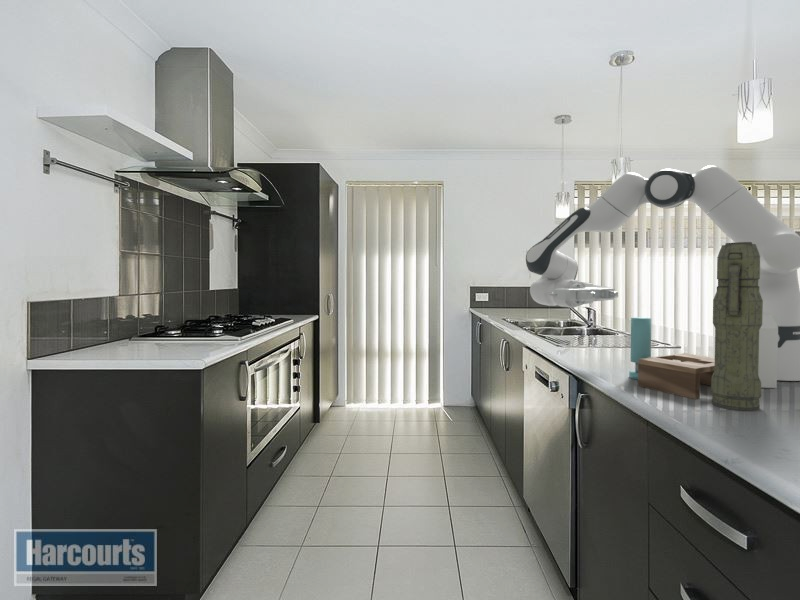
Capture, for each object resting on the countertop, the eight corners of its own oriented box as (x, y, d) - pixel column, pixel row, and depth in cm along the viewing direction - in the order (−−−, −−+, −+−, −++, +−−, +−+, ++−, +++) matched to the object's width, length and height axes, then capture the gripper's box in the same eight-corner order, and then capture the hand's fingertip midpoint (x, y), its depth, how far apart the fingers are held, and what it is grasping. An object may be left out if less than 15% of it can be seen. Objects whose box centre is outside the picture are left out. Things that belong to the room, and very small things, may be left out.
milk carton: (776, 388, 121) (778, 311, 120) (744, 387, 123) (746, 311, 122) (761, 382, 128) (763, 309, 127) (731, 381, 130) (732, 309, 129)
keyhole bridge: (684, 378, 134) (684, 353, 134) (742, 390, 120) (743, 361, 120) (638, 386, 126) (638, 358, 126) (695, 399, 113) (695, 368, 112)
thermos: (709, 408, 104) (712, 242, 103) (712, 397, 114) (714, 245, 112) (761, 415, 100) (765, 240, 98) (759, 402, 109) (763, 243, 108)
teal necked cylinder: (633, 374, 140) (634, 316, 139) (654, 377, 136) (655, 317, 135) (626, 378, 136) (626, 318, 135) (647, 380, 132) (648, 319, 131)
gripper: (545, 284, 154) (578, 284, 141) (593, 283, 162) (629, 283, 150) (545, 304, 154) (578, 307, 141) (593, 302, 163) (628, 304, 150)
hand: (605, 295), depth 146 cm, fingers open, 8 cm apart
